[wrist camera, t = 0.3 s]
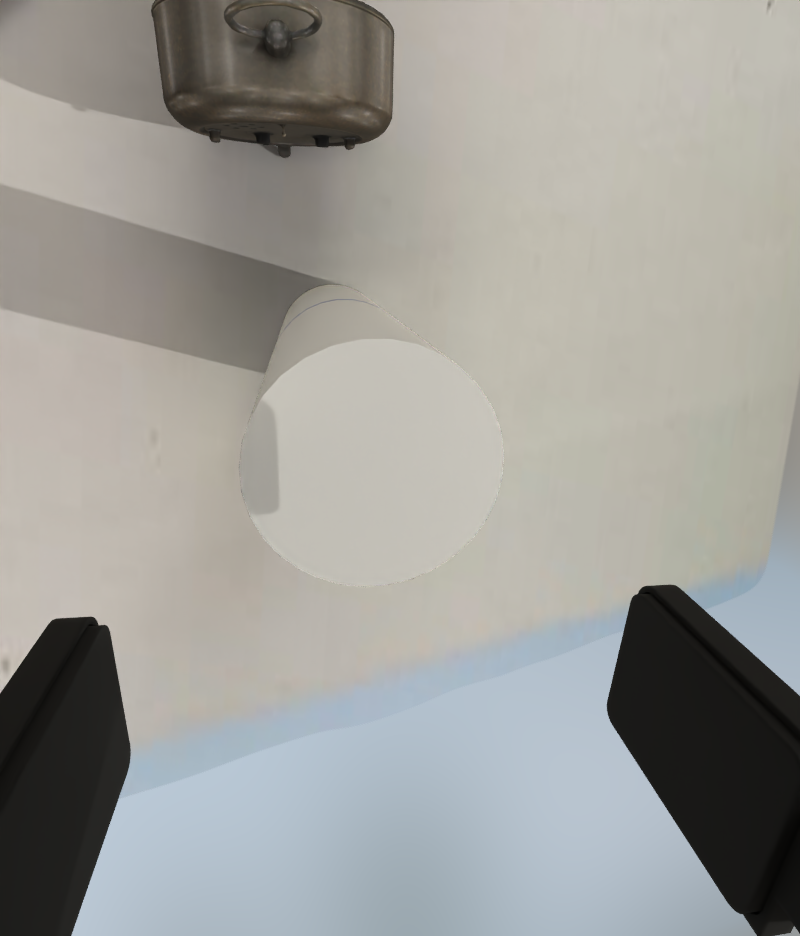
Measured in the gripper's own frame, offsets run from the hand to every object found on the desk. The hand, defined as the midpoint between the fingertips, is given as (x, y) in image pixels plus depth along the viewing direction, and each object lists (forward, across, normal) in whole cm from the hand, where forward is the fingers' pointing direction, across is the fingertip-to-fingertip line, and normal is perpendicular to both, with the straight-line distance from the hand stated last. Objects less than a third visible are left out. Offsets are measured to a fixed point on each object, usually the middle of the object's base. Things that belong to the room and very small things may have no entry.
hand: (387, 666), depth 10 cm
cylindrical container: (+31, 0, -1) cm, 31 cm away
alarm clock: (+31, +2, -14) cm, 34 cm away
